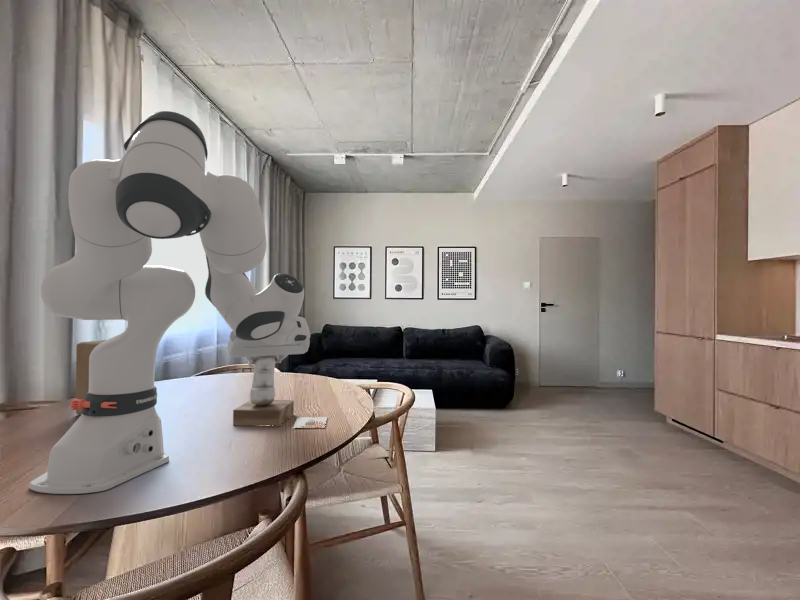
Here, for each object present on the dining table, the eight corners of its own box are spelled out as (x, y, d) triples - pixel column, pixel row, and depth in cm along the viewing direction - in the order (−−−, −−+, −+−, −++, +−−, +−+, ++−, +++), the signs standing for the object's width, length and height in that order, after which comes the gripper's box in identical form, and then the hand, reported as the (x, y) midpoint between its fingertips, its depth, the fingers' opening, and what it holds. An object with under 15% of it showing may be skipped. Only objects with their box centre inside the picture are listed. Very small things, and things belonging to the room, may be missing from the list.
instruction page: (325, 428, 112) (325, 426, 112) (292, 429, 111) (292, 427, 111) (327, 417, 122) (327, 416, 122) (297, 418, 121) (297, 417, 121)
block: (73, 415, 122) (74, 342, 122) (107, 407, 131) (108, 339, 131) (101, 418, 119) (102, 343, 119) (134, 410, 129) (134, 340, 129)
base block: (279, 426, 113) (279, 411, 113) (233, 425, 114) (233, 409, 114) (293, 414, 125) (293, 400, 125) (251, 413, 126) (251, 399, 126)
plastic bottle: (244, 406, 116) (248, 329, 117) (256, 401, 123) (260, 328, 123) (267, 408, 115) (272, 330, 116) (278, 403, 122) (282, 330, 122)
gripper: (233, 338, 104) (225, 374, 113) (316, 336, 115) (303, 368, 123) (229, 319, 108) (222, 354, 116) (310, 318, 119) (298, 350, 127)
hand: (264, 362), depth 120 cm, fingers closed on plastic bottle, 6 cm apart
